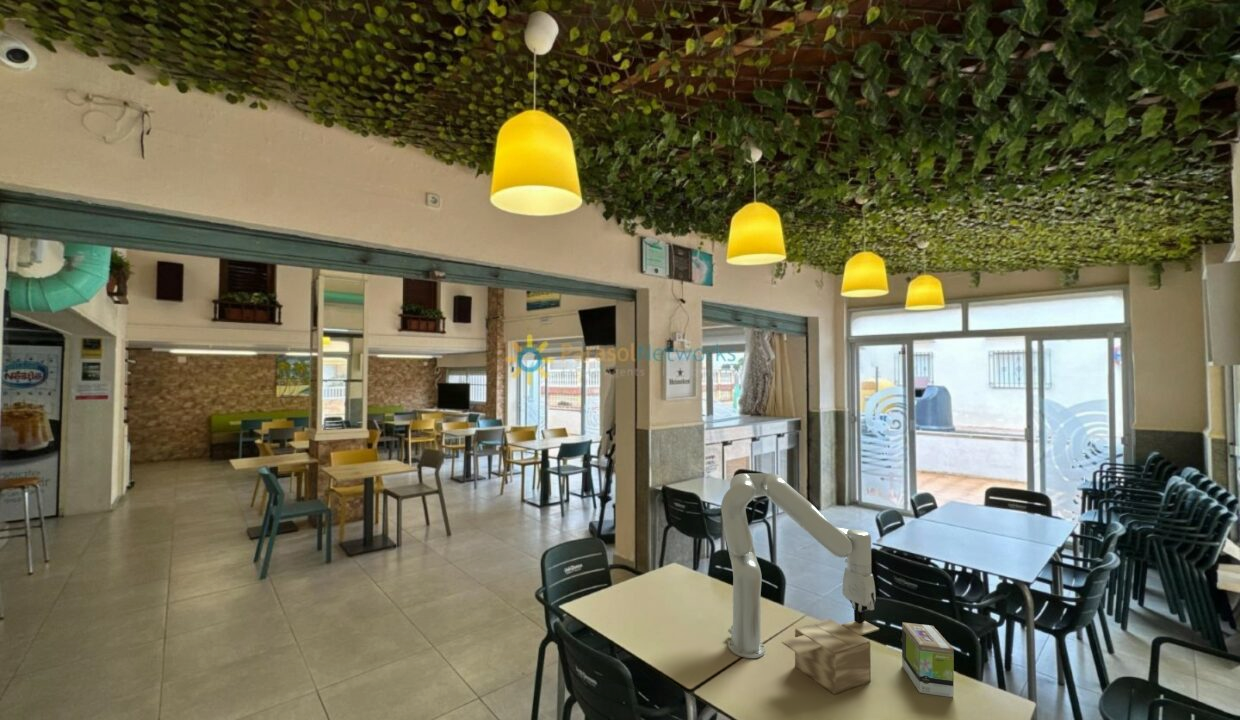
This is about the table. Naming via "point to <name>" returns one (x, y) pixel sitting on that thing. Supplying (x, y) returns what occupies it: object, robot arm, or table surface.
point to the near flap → (815, 640)
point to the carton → (836, 667)
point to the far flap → (848, 631)
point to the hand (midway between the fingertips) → (859, 621)
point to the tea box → (928, 659)
